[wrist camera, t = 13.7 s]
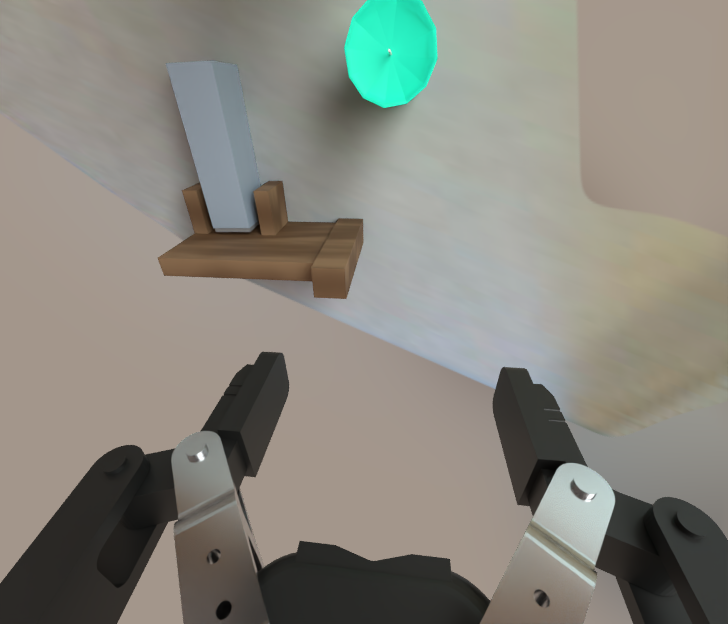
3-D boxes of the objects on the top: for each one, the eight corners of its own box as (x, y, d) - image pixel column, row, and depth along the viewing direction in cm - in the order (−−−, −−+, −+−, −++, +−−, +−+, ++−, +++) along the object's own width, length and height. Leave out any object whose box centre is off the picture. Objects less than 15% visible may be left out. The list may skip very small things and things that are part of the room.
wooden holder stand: (204, 180, 38) (122, 216, 27) (362, 181, 36) (342, 220, 25) (219, 238, 41) (152, 290, 31) (363, 242, 40) (346, 298, 29)
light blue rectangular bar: (197, 67, 32) (165, 63, 28) (237, 64, 31) (211, 60, 27) (234, 217, 40) (214, 232, 36) (267, 217, 39) (250, 232, 35)
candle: (422, 107, 32) (428, 114, 22) (359, 100, 32) (337, 103, 22) (436, 25, 28) (451, -13, 18) (365, 17, 28) (343, -25, 18)
